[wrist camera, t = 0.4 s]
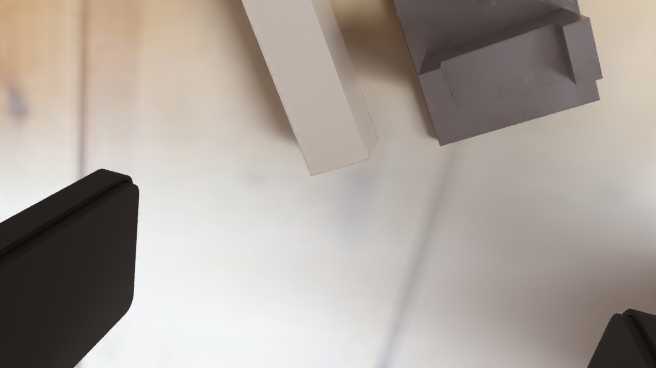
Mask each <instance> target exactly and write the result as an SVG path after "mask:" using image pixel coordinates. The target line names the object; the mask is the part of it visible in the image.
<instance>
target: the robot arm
mask: <svg viewBox="0 0 656 368" xmlns="http://www.w3.org/2000/svg"><path fill="white" fill-rule="evenodd" d="M138 205H139V189H138V186H137V185H135V184H133V182H132V178H131V177H130V176H128V175H124V174H121V173H117V172H113V171H109V170H105V169H99V170H97V171H95V172H93V173H91V174H89V175H88V176H86V177H84V178H82V179H80V180H78V181H77V182H75V183H73V184H71V185H69V186H67V187H66V188H64V189H62V190H60V191H58V192H56V193H55V194H53V195H51V196H49V197H47V198H45V199H43V200H42V201H40V202H38V203H36V204H34V205H32V206H31V207H29V208H27V209H25V210H23V211H21V212H20V213H18V214H16V215H14V216H12V217H10V218H8V219H7V220H5V221H3V222H1V223H0V368H74V367H75V366H76V365H77V364H78V363H79V362H80V361H81V359H82V358H83V357H84V356H85V355H86V354H87V353H88V352H89V351H90V350H91V349H92V348H93V347H94V346H95V345H96V344H97V343H98V342H99V341H100V340H101V339H102V338H103V337H104V336H105V335H106V334H107V333H108V331H109V330H110V329H111V328H112V327H113V326H114V325H115V324H116V323H117V322H118V321H119V320H120V319H121V318H122V317H123V316H124V315H125V314H126V313H127V311H128V310H129V308H130V306H131V303H132V300H133V295H134V278H135V259H136V241H137V223H138ZM587 368H656V315H652V314H648V313H644V312H641V311H637V310H633V309H628V310H626V311H625V312H624V313H623V314H622V315H621V314H618V313H617V314H614V315H613V316H612V318H611V319H610V321H609V323H608V325H607V327H606V329H605V332H604V334H603V336H602V338H601V340H600V342H599V344H598V346H597V348H596V351H595V353H594V355H593V357H592V359H591V361H590V363H589V365H588V367H587Z"/></svg>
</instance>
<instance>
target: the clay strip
mask: <svg viewBox="0 0 656 368" xmlns="http://www.w3.org/2000/svg"><path fill="white" fill-rule="evenodd" d="M241 1H242V3H243V6H244V8H245V11H246V13H247V16H248V18H249V21H250V23H251V26H252V28H253V31H254V33H255V36H256V39H257V41H258V44H259V46H260V49H261V51H262V54H263V56H264V59H265V61H266V64H267V66H268V69H269V71H270V74H271V76H272V79H273V81H274V84H275V86H276V89H277V91H278V94H279V97H280V99H281V102H282V104H283V107H284V109H285V112H286V114H287V117H288V119H289V122H290V124H291V127H292V129H293V132H294V134H295V137H296V139H297V142H298V144H299V147H300V150H301V152H302V155H303V157H304V160H305V162H306V165H307V167H308V170H309V172H310V175H311V176H313V175H316V174H320V173H323V172H327V171H330V170H334V169H337V168H341V167H344V166H347V165H351V164H354V163H358V162H361V161H365V160H368V159H369V157H370V155H371V153H372V150H373V148H374V146H375V144H376V142H377V140H378V136H377V133H376V130H375V127H374V124H373V121H372V119H371V116H370V113H369V110H368V107H367V104H366V101H365V99H364V96H363V93H362V90H361V87H360V84H359V81H358V79H357V76H356V73H355V70H354V67H353V64H352V61H351V59H350V56H349V53H348V50H347V47H346V44H345V42H344V39H343V36H342V33H341V30H340V27H339V24H338V22H337V19H336V16H335V13H334V10H333V7H332V4H331V2H330V0H241Z"/></svg>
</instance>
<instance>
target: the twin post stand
mask: <svg viewBox="0 0 656 368" xmlns="http://www.w3.org/2000/svg"><path fill="white" fill-rule="evenodd" d="M393 2H394V5H395V8H396V11H397V14H398V17H399V21H400V24H401V27H402V30H403V33H404V36H405V39H406V42H407V45H408V48H409V51H410V54H411V58H412V61H413V64H414V67H415V70H416V73H417V76H418V79H419V82H420V85H421V88H422V91H423V95H424V98H425V101H426V104H427V107H428V110H429V113H430V116H431V119H432V122H433V125H434V128H435V132H436V135H437V138H438V141H439V144H440V146H442V145H446V144H449V143H453V142H456V141H460V140H463V139H467V138H470V137H473V136H477V135H480V134H484V133H487V132H491V131H494V130H498V129H501V128H504V127H508V126H511V125H515V124H518V123H522V122H525V121H529V120H532V119H535V118H539V117H542V116H546V115H549V114H553V113H556V112H560V111H563V110H566V109H570V108H573V107H577V106H580V105H584V104H587V103H591V102H594V101H597V100H600V98H599V94H598V89H597V85H596V81H595V80H598V79H601V78H603V77H602V72H601V68H600V63H599V59H598V55H597V50H596V46H595V41H594V37H593V32H592V28H591V24H590V19H589V18H588V17H586V16H583V15H580V11H579V7H578V2H577V0H393Z"/></svg>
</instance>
